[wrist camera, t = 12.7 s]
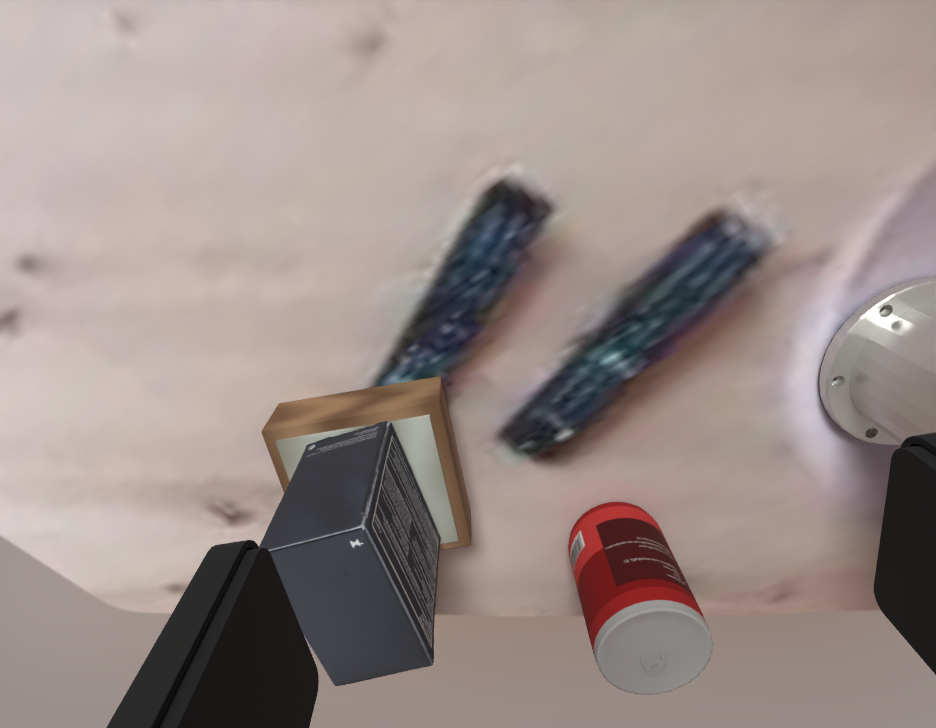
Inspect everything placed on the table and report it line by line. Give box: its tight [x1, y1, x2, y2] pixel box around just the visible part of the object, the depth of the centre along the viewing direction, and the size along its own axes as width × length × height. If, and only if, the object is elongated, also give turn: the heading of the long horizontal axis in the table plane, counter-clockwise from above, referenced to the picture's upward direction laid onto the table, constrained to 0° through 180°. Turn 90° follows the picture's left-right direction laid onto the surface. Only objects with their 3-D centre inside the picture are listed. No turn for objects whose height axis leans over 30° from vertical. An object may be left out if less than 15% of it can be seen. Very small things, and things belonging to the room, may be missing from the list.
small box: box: [259, 421, 441, 686], centre depth 35 cm, size 11×6×10 cm, turn 18°
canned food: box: [569, 502, 713, 695], centre depth 42 cm, size 8×8×11 cm
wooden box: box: [262, 376, 471, 550], centre depth 41 cm, size 12×12×4 cm
